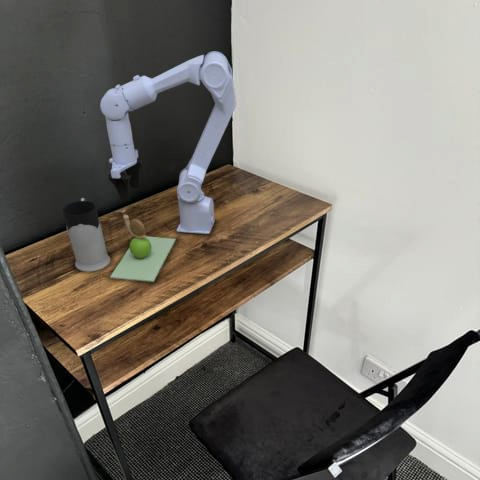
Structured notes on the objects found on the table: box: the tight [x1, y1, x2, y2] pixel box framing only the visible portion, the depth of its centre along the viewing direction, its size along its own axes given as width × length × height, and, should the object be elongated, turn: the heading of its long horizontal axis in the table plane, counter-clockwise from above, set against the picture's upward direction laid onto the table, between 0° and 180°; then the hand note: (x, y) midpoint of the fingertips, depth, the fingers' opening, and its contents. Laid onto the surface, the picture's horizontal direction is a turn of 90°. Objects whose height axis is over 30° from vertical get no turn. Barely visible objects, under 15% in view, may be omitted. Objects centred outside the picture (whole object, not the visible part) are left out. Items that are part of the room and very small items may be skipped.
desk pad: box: [109, 236, 177, 283], centre depth 119 cm, size 11×20×1 cm, turn 171°
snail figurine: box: [121, 209, 151, 258], centre depth 115 cm, size 5×6×12 cm
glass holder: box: [62, 197, 111, 272], centre depth 115 cm, size 9×14×15 cm, turn 11°
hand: (130, 193), depth 125 cm, fingers open, 7 cm apart
